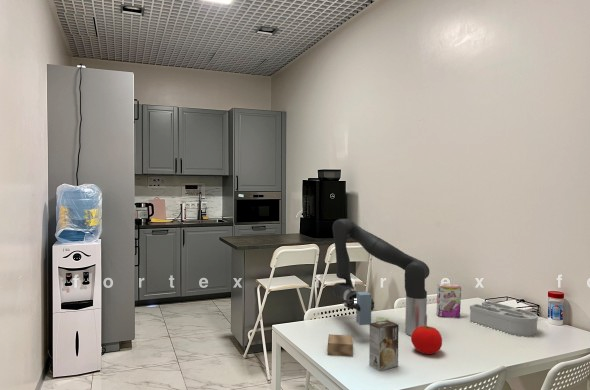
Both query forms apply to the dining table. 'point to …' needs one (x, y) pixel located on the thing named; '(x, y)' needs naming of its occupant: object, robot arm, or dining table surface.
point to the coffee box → (383, 345)
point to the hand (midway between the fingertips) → (365, 308)
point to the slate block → (363, 308)
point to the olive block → (381, 319)
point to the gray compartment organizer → (504, 318)
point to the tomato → (426, 339)
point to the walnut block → (340, 345)
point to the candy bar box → (448, 300)
